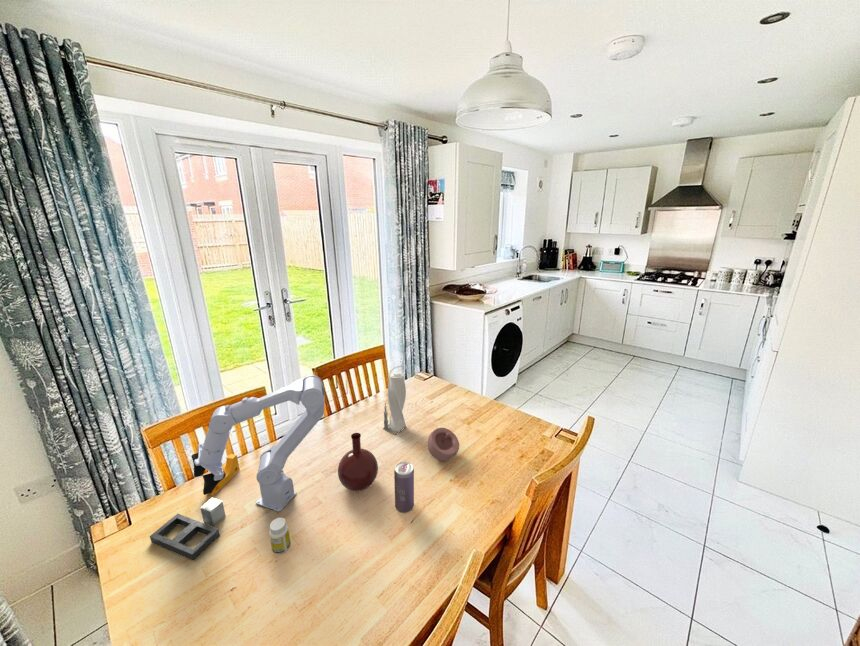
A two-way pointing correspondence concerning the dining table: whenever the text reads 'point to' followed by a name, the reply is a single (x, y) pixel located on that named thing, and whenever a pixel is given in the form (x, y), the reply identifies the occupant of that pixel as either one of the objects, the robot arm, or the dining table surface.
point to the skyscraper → (395, 402)
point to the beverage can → (404, 487)
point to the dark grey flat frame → (185, 536)
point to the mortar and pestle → (443, 444)
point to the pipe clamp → (227, 472)
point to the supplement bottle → (279, 536)
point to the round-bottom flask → (357, 467)
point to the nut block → (213, 512)
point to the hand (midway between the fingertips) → (202, 484)
